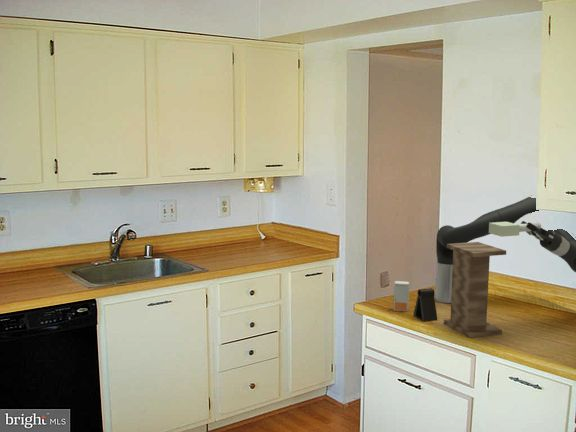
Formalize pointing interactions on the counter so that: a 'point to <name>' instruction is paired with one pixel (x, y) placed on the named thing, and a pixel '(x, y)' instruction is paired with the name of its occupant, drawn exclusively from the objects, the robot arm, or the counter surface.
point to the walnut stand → (471, 288)
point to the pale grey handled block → (508, 228)
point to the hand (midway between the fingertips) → (524, 224)
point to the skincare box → (401, 296)
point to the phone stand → (425, 305)
